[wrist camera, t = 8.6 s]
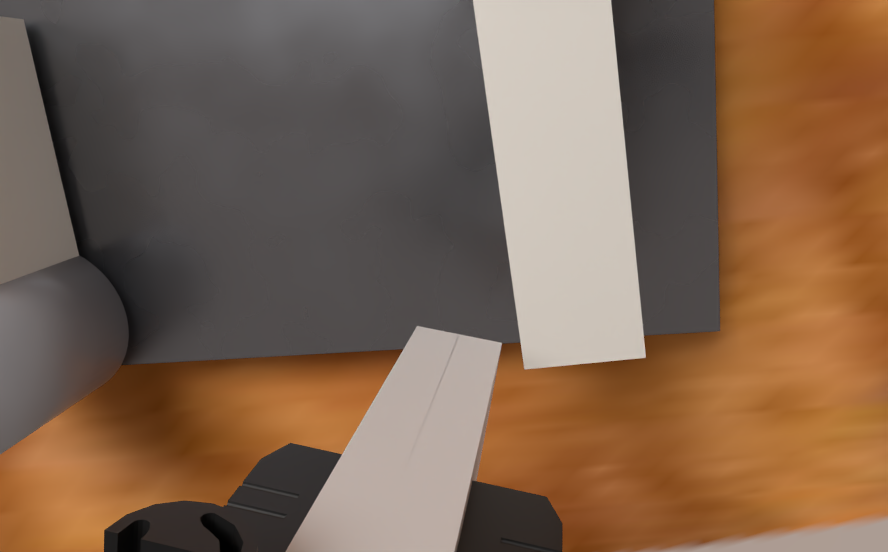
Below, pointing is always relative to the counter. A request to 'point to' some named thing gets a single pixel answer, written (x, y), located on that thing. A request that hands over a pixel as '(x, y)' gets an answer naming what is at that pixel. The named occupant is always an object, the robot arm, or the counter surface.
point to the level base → (342, 168)
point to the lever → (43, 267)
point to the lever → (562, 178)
